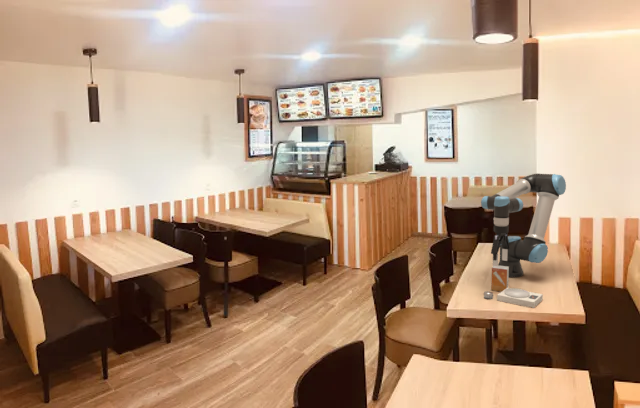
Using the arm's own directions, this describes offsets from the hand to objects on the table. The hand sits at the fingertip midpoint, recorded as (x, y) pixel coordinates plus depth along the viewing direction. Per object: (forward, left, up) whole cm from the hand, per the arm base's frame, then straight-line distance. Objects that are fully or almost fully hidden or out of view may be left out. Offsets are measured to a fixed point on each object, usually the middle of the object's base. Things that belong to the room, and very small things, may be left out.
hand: (500, 263), depth 249 cm
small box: (0, 0, -15) cm, 15 cm away
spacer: (+16, 0, -15) cm, 22 cm away
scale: (+10, +14, -15) cm, 23 cm away
